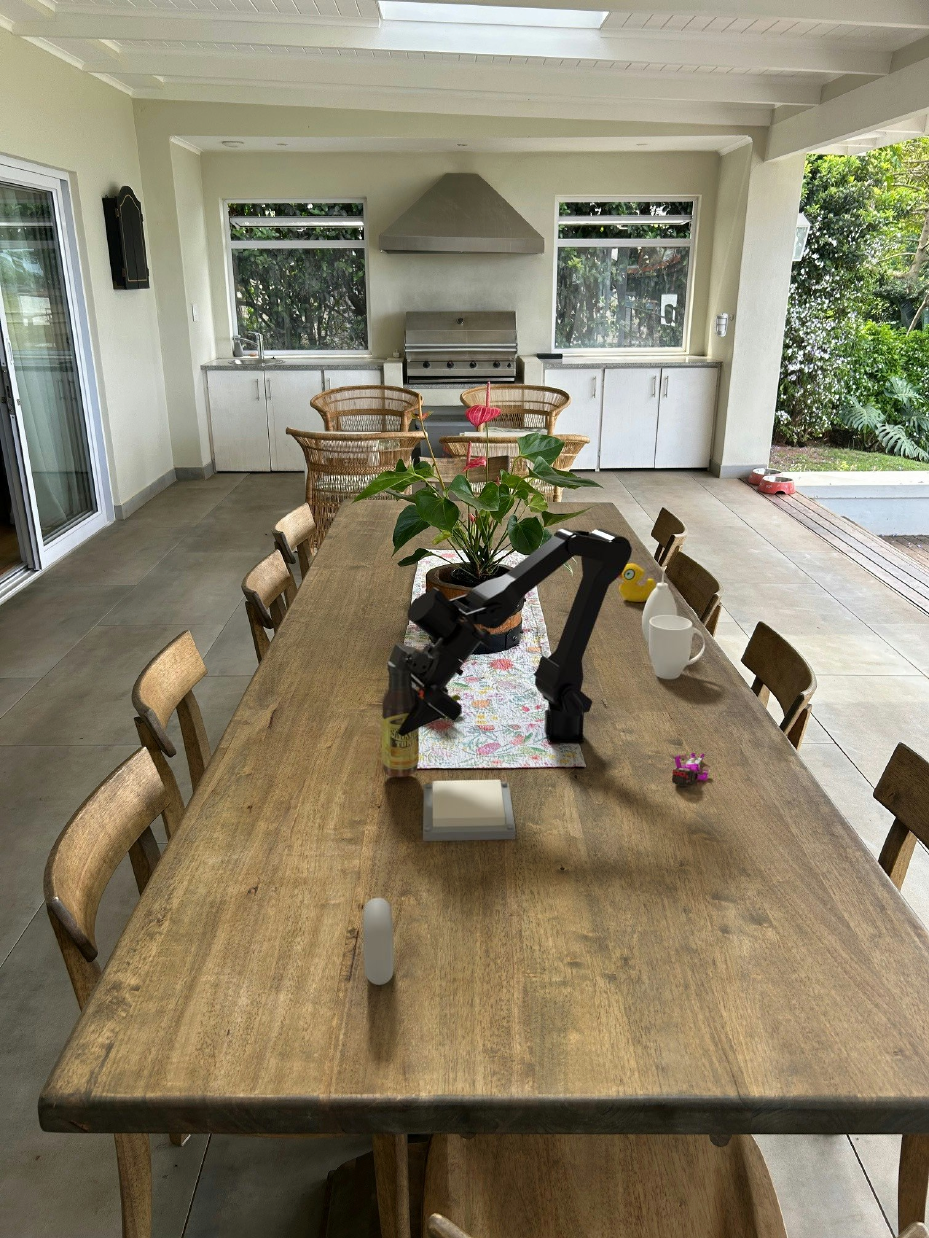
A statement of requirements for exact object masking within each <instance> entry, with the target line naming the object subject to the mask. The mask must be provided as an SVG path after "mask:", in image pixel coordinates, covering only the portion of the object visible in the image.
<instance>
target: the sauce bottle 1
mask: <svg viewBox="0 0 929 1238" xmlns="http://www.w3.org/2000/svg"><path fill="white" fill-rule="evenodd" d="M387 663H388V664H387V667H386V668H387V669H386V670H387V671H388V689H387V690H386V692H385V693H384V696H383V698H382V704H381V706H382V709H381V711H382V712H381V762H382V768H383V769H382V770H383V772H384V773H385V774H386V775H388V776H389V777H394V778H405V777H409V776H411V775H413V774H414V773H416V772H417V770H418V766H419V761H420V759H419V758H420V756H419V755H420V752H419V751H420V749H419V748H420V746H419V745H420V740H419V737H420V733H419V731H420V728H418V729H416V730H414V731H412V732H410V733H408V734H406V735H404V736H401V735H399V734H398V731H399V729H400V727H401V725H402V724H403V722H404V721H405V719H406V718H407V716H408V715H409V713H410V712H411V710H412V709H413V707H414V706H415V694H416V693H415V691H414V690H413V688H412V682H411V672H410V671H402V670H399V669H397V668H396V667H395V665H394V664H393V663H392V662H390V661H389V660H388V661H387Z"/></svg>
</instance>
